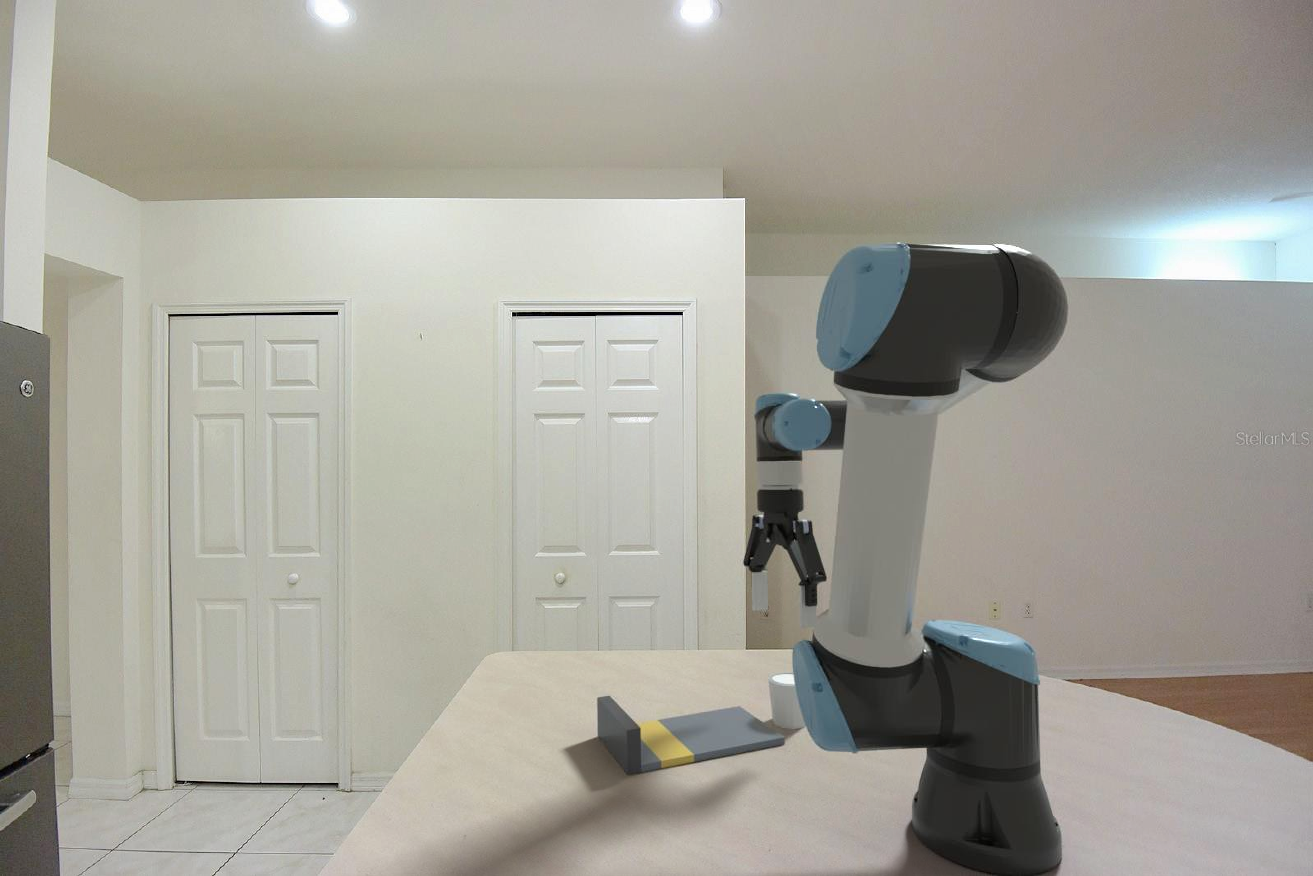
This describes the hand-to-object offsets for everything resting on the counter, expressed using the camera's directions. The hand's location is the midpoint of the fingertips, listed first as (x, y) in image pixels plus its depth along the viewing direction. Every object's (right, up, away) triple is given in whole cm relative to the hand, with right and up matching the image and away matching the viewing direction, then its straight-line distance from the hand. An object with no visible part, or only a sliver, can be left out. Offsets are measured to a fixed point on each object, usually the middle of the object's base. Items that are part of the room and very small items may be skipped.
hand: (782, 618), depth 110 cm
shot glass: (+1, -17, -1) cm, 17 cm away
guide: (-16, -17, -7) cm, 24 cm away
